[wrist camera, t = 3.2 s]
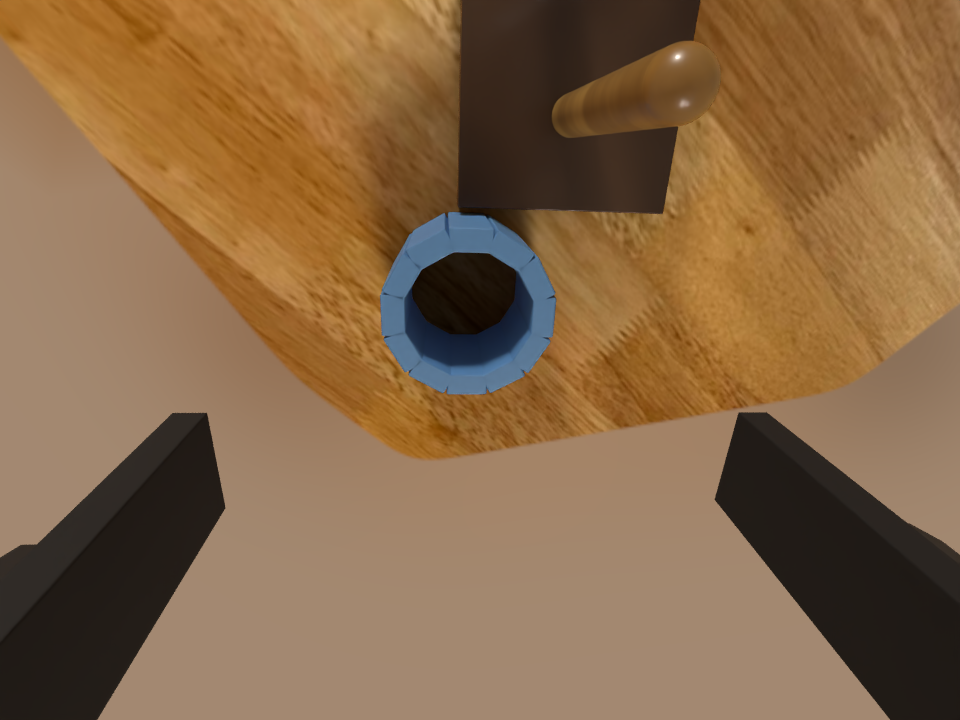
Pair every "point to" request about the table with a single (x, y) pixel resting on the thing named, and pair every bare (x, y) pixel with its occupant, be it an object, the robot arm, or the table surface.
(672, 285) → the table surface
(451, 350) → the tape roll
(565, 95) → the peg stand
